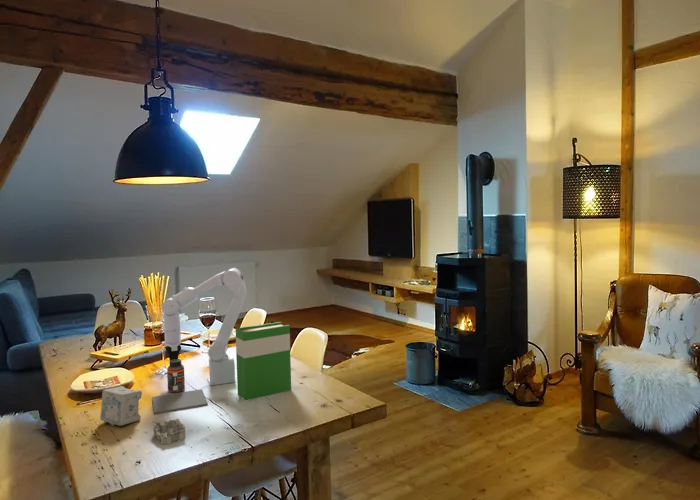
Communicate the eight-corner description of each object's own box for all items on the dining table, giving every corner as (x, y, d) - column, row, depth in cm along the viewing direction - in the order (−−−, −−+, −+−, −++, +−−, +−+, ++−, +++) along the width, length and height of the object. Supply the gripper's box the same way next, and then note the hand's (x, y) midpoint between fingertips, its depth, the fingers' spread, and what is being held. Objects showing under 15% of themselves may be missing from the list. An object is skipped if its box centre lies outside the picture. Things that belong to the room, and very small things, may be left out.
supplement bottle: (179, 393, 180) (178, 363, 179) (164, 392, 181) (163, 362, 180) (188, 388, 186) (186, 358, 185) (173, 387, 187) (172, 357, 186)
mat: (202, 390, 183) (201, 389, 183) (207, 405, 169) (207, 403, 169) (152, 398, 176) (152, 396, 176) (154, 414, 162) (154, 412, 162)
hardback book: (282, 384, 188) (280, 321, 186) (291, 389, 182) (289, 325, 180) (237, 394, 179) (235, 328, 177) (245, 400, 173) (243, 332, 171)
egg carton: (151, 433, 148) (150, 420, 148) (177, 427, 153) (176, 414, 153) (161, 447, 140) (160, 433, 140) (188, 439, 144) (187, 426, 144)
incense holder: (143, 419, 159) (142, 387, 158) (121, 429, 151) (119, 396, 150) (122, 413, 163) (121, 382, 162) (99, 423, 156) (97, 391, 155)
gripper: (160, 326, 194) (161, 361, 195) (162, 335, 181) (163, 371, 182) (179, 324, 197) (180, 358, 198) (182, 333, 184) (184, 369, 185)
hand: (173, 364), depth 190 cm, fingers closed
